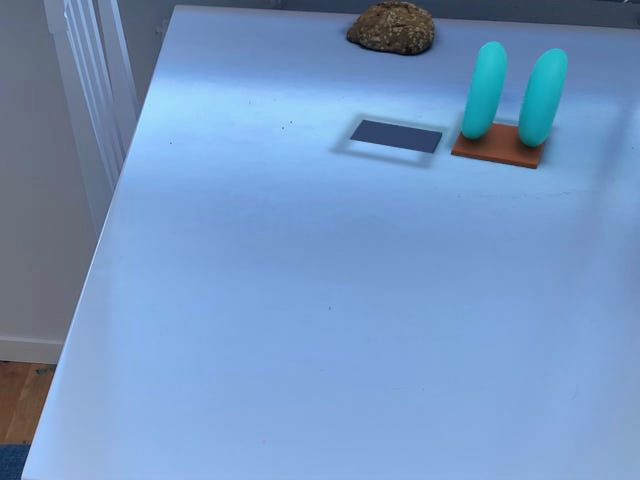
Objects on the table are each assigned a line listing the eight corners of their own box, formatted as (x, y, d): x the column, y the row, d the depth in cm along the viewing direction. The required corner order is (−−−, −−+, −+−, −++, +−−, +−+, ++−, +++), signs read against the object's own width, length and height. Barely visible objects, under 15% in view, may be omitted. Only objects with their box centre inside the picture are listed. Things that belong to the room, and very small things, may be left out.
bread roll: (438, 33, 143) (446, -6, 139) (427, 58, 135) (436, 18, 131) (354, 23, 145) (360, -15, 141) (339, 47, 137) (345, 7, 133)
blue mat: (441, 136, 115) (442, 132, 115) (422, 173, 108) (423, 169, 108) (362, 123, 118) (362, 119, 117) (338, 158, 110) (338, 154, 110)
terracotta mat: (547, 135, 116) (548, 131, 116) (536, 168, 110) (537, 164, 109) (466, 122, 119) (467, 118, 118) (450, 154, 112) (451, 149, 112)
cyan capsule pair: (461, 120, 118) (483, 28, 110) (543, 130, 116) (571, 38, 109) (455, 150, 111) (478, 55, 104) (542, 161, 110) (572, 65, 102)
